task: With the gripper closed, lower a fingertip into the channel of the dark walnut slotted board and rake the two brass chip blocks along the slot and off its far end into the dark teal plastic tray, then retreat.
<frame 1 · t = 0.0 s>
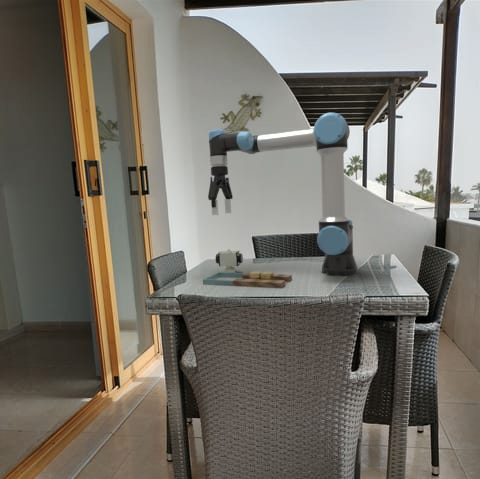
hand: (222, 214, 160), 28 cm above the table, fingers open, 13 cm apart
chip 2: (267, 282, 140), point 1 cm above the table, touching slot board
chip 1: (256, 282, 142), point 1 cm above the table, touching slot board
tray: (225, 283, 148), on the table
slot board: (262, 285, 141), on the table
pneumatic valve: (230, 275, 163), on the table
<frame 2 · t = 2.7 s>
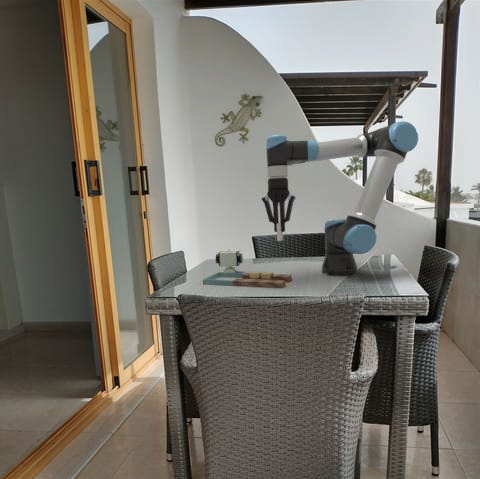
hand: (280, 240, 136), 18 cm above the table, fingers closed
nothing on the table moved.
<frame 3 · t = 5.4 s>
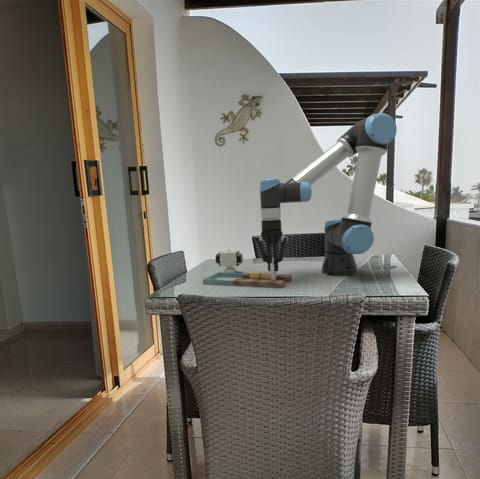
hand: (273, 279, 139), 3 cm above the table, fingers closed
chip 2: (267, 282, 140), point 1 cm above the table, touching gripper, slot board
everything else where it was.
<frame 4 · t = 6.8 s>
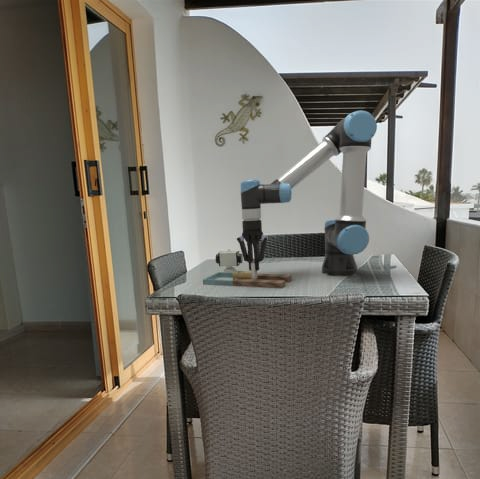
hand: (254, 278, 142), 3 cm above the table, fingers closed
chip 2: (248, 281, 143), point 1 cm above the table, touching chip 1, gripper
chip 1: (239, 281, 145), point 1 cm above the table, touching chip 2, slot board
everything else where it was.
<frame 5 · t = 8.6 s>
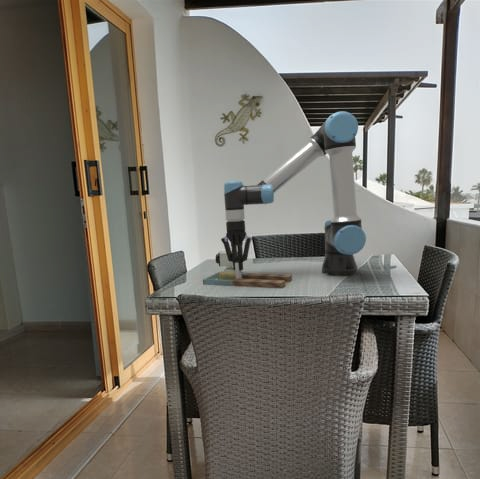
hand: (238, 278, 145), 2 cm above the table, fingers closed
chip 2: (233, 282, 146), point 1 cm above the table, touching chip 1, gripper
chip 1: (224, 282, 148), point 1 cm above the table, touching chip 2, tray
everything else where it was.
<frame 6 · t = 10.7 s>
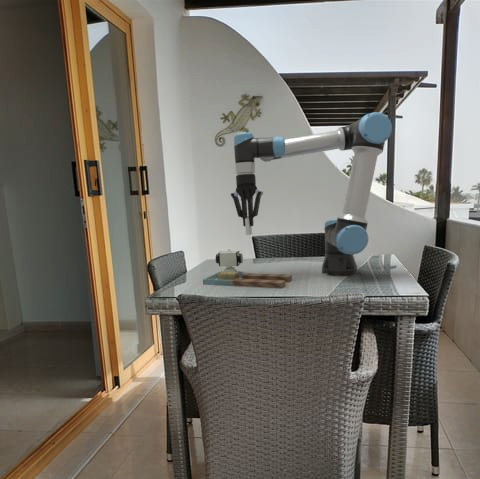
hand: (248, 234, 141), 20 cm above the table, fingers closed
chip 2: (232, 282, 146), resting on tray
chip 1: (224, 282, 148), resting on tray
everything else where it was.
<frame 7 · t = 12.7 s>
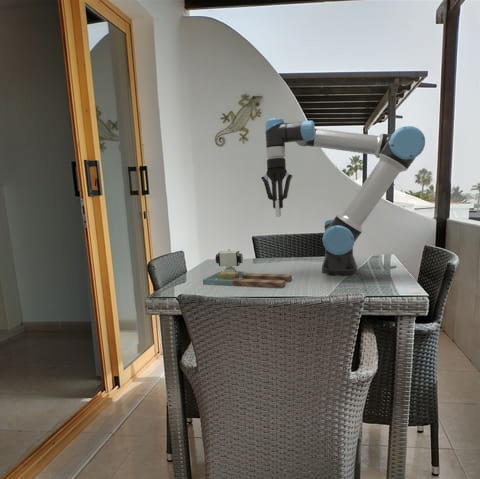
hand: (278, 216, 147), 26 cm above the table, fingers closed
nothing on the table moved.
at the end: chip 1 inside the target area on the tray (0.4 cm from its centre), point 0.5 cm above the tray's base; chip 2 inside the target area on the tray (3.6 cm from its centre), point 0.5 cm above the tray's base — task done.
